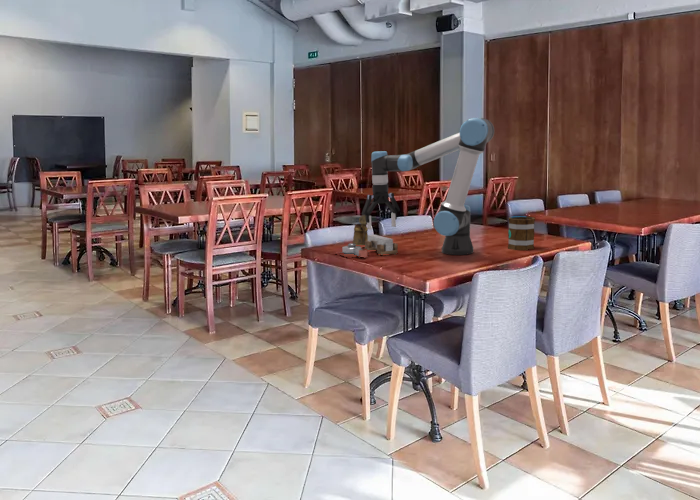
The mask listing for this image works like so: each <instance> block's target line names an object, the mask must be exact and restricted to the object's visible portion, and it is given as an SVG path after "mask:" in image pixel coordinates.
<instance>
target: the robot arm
mask: <svg viewBox="0 0 700 500" xmlns="http://www.w3.org/2000/svg"><path fill="white" fill-rule="evenodd" d="M494 135H495V127H494V124H493V123H492V122H491V120H489V119H487V118H484V117H481V118H480V117H472V118H469V119H467V120H465V121H464V122H462V124H461V126H460V128H459V132H457V133H455V134H452V135H450V136H448V137H445V138H443V139H440V140H438V141H436V142H433V143H430V144H428V145H426V146H424V147H421V148H419V149H416V150H414V151H411V152H408V153H406V154H392V155H390V154H389V155H388V152H387V151H385V150H384V151H382V150H380V151H378V150H377V151H373V152H372V153H371V161H370V163H371V176H372V177H371V179H372V180H371V181H372V182H371V183H372V185H371V186H372V187H371V188H372V195H371V194H367V195H366V201H365V203H364V206H363V208H362V212H361V216H362V215H365V217H366V223H367V224H366V226H367V229H368V230H369V231H371V230H372V215H371V214H372V212H373V210H375V207H376V206H378V204H385V205H386V206H387V207H388V208H389V209H390V211H391V213H390V214H391V215H390V217H391V218H390V219H391V222H390V223H391V227H393V228H394V227H395V228H396V226H397V225H396V224H397V223H396V222H397V221H396V220H397V219H398V216H397V214H398V213H399V212H400V211H401V208H400V206H399V204H398V202H397V200H396V198H395V193H393V192H389V184H388V183H389V177H388V176H389V175H388V174H389V173H388V172H409V171H411V170H414V169H417V167H420V166H422V165H425V164H427V163H430V162H432V161H435V160H438V159H440V158H442V157H445V156H447V155H450V154H452V153H454V152H458V151H459V153H458V154H459V155H458V156H457V160H456V164H455V168H454V171H453V175H452V177H451V181H450V185H449V188H448V191H447V195H446V199H445V200H444V201H442V202H441V204H440V208H439V211H438V212H437V213H436V215H435V216H434V218H433V227H434V229H435V231H436V232H437V233H438V234H439V235H442V236H444V240H443V243H442V247H441V253H442V254H446V255H453V256H464V255H471V254H473V253H474V245H473V242H472V239H471V212H472V211H471V206H470V205H468V204H465V202H466V199H467V197H468V195H469V194H468V193H469V190H470V187H471V184H472V179H473V177H474V173H475V169H476V167H477V164H478V160H479V157H480V155H481V154H483V153H484V151H485V149H486V146H487V143H489V142H490V141H491V140H492V139H493V137H494ZM389 199H390V200H389Z"/></svg>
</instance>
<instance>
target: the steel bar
mask: <svg viewBox="0 0 700 500" xmlns="http://www.w3.org/2000/svg"><path fill="white" fill-rule="evenodd" d="M368 241H370V242H371V246H372V248H376V249H377V244H381V245H384V251H393V243H394V238H390V237H386V236H381V235H378V234H368Z"/></svg>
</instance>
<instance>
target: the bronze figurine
mask: <svg viewBox="0 0 700 500" xmlns="http://www.w3.org/2000/svg"><path fill="white" fill-rule="evenodd" d="M368 230H369V229H367V223H366V217H365V215H362V214H361V216H360V217H359V218H358V223H356V224H354V227H353V239H352V243H355V244H356V245H365V241H368V235H369V234H368V232H369V231H368Z"/></svg>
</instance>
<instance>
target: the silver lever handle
mask: <svg viewBox="0 0 700 500" xmlns="http://www.w3.org/2000/svg"><path fill="white" fill-rule="evenodd" d="M341 253H344V254H354V255H357V256H360V257H364V258H368V256H367V254H368V252H367V250H365V249H363V248H361V247H360V246H356V244H355V243H353V242H351V243H348V244H347V245H345V246H342V252H341ZM360 257H359V258H360Z"/></svg>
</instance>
